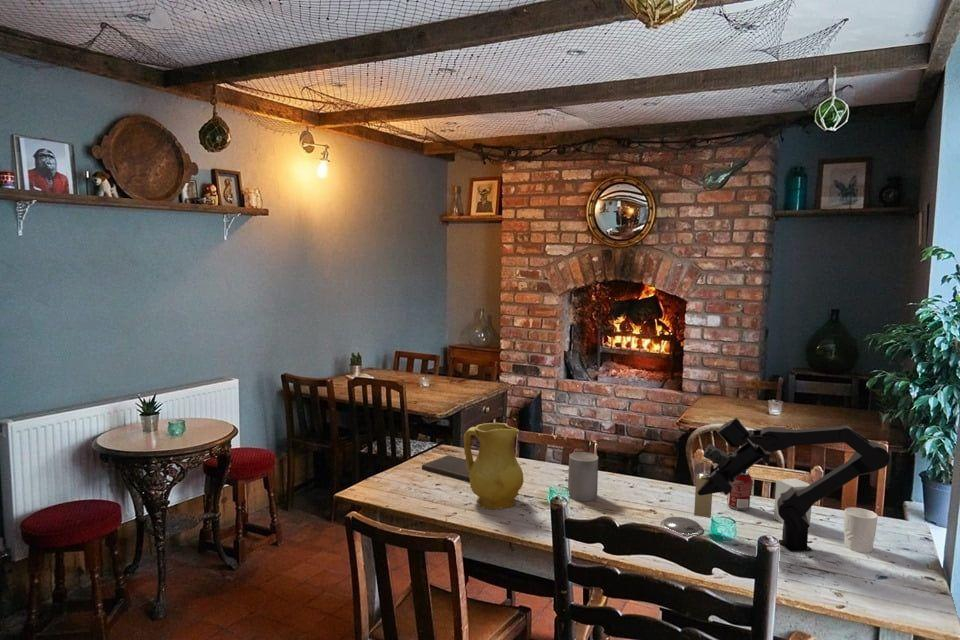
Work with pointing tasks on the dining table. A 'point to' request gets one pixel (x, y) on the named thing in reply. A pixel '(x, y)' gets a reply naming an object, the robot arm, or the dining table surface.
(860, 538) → the white cup
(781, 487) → the supplement box
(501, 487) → the pitcher
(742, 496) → the soda can
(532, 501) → the dining table surface
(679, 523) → the plate
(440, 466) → the hardcover book
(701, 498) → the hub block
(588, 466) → the pillar candle
